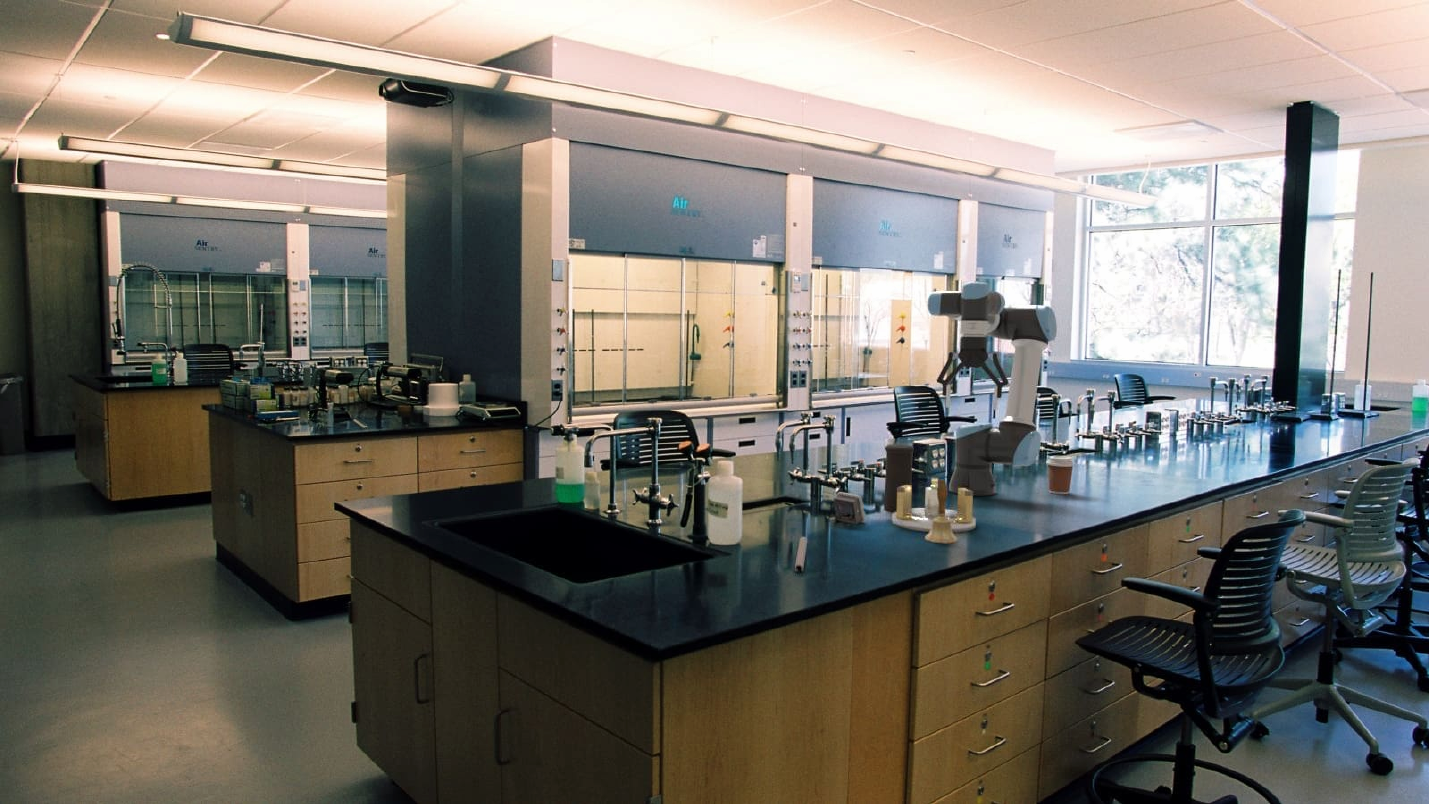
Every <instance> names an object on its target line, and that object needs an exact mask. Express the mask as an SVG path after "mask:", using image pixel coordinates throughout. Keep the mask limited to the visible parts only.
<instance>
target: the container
mask: <svg viewBox="0 0 1429 804" xmlns="http://www.w3.org/2000/svg"><path fill="white" fill-rule="evenodd" d="M884 450H885V452H886V455H885V456H886V457H885V476H884V477H885V478H884V499H883V509H884V510H885V511H889V512H893V513H894V512H895V511H897V487H901V486H904V485H910V486H912V484H913V483H912V479H913V478H912V475H913V453H914V451H915V448H914V446H912V445H909V444H903V443H902V444H901V443H894V444H886V446H885V447H884Z"/></svg>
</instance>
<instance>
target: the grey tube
mask: <svg viewBox="0 0 1429 804" xmlns="http://www.w3.org/2000/svg"><path fill="white" fill-rule="evenodd" d="M807 538H808V537H806V536H801V537H800V538H799V541H798V548H797V552H796V553H797V554H796V559H795V564H794V571H795V572H797V569H798V570H800V569H801V571H802V572H803V571H804V565H805V561H806V559H805V558H806V553H807V547H808V546H807V545H808V539H807Z"/></svg>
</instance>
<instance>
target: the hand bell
mask: <svg viewBox="0 0 1429 804" xmlns="http://www.w3.org/2000/svg"><path fill="white" fill-rule="evenodd" d="M937 497H938V501H939V512H938V513H939V516H938V517H937V518H934V519H933V524H932V528H931V530H930V532H928V534H926V535H925V537H924V539H925V540H926V541H927V542H931V543H933V544H954V543H957V542H958V538H957V536H955V534H954V533H953V532H952V529H951V522H950V520H949V519H948V518H946V517H945V509H946V501H947V497H948V487H947V484H946V480H945V479H943V478H942V479H939V480H938V488H937Z"/></svg>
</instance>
